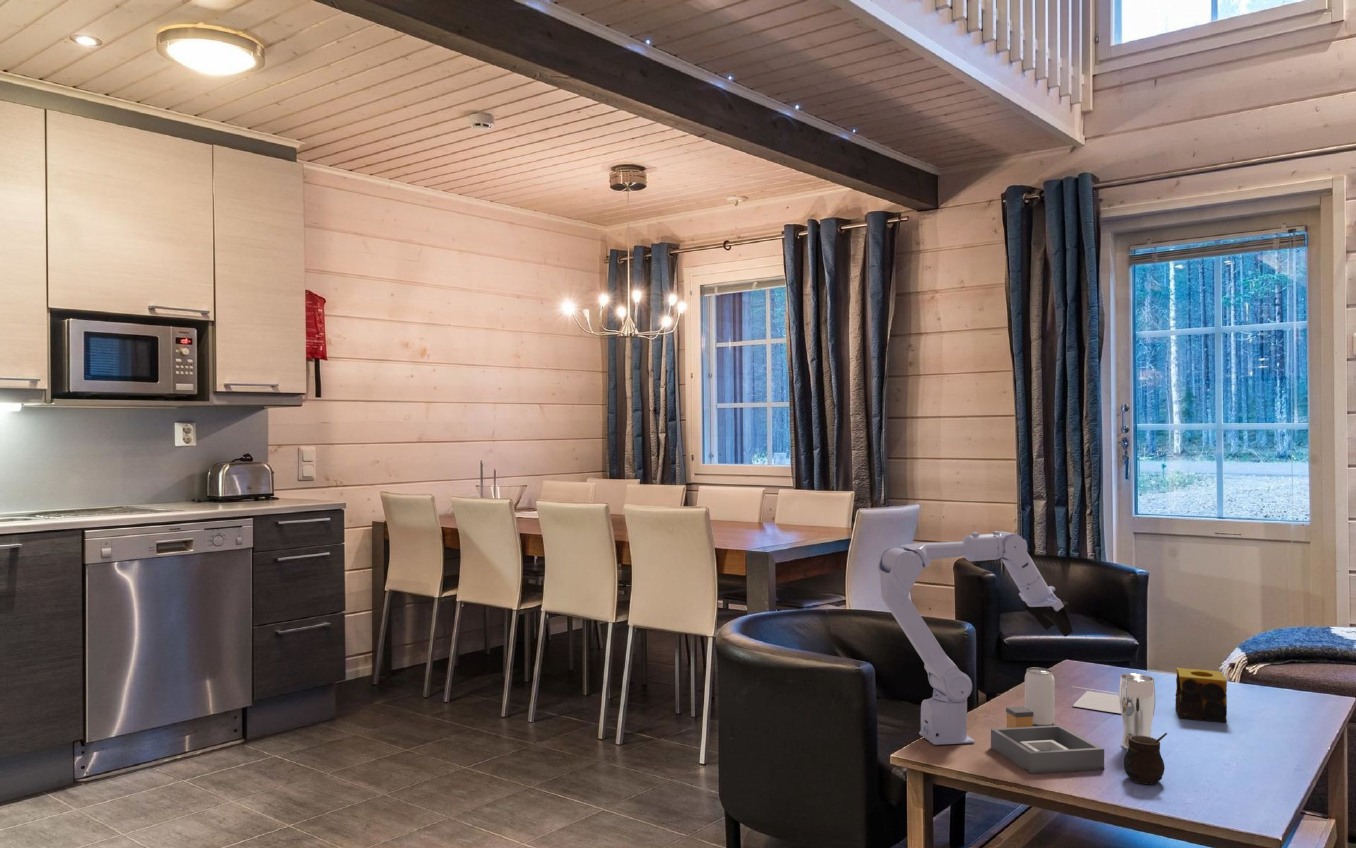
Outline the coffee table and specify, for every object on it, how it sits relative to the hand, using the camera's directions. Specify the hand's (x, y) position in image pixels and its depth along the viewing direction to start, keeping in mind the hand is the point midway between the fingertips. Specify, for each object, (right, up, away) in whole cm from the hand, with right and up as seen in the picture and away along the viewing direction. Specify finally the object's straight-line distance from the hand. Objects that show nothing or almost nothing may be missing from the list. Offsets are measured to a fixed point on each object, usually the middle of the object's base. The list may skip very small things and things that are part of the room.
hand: (1058, 630), depth 217 cm
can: (-1, -23, +8) cm, 25 cm away
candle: (+39, -24, +14) cm, 48 cm away
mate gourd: (+5, -23, -29) cm, 38 cm away
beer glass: (+13, -23, -10) cm, 28 cm away
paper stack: (+20, -24, +30) cm, 43 cm away
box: (-9, -23, -16) cm, 30 cm away
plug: (-10, -23, -2) cm, 25 cm away
